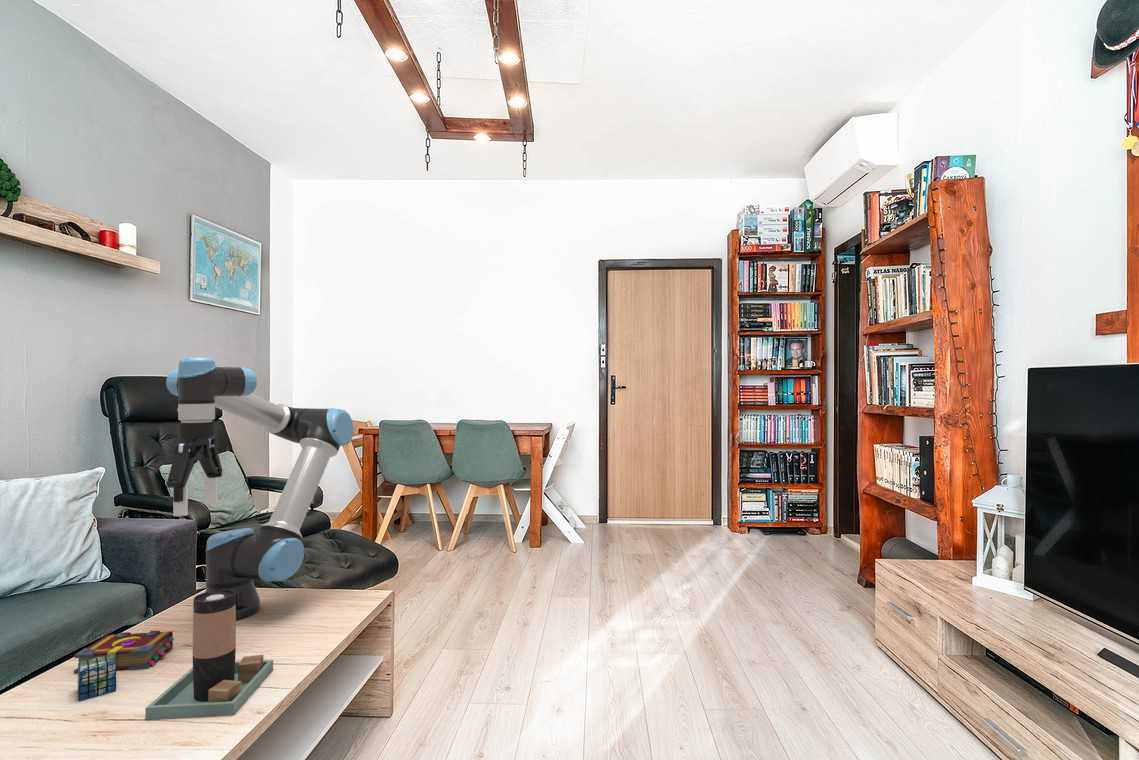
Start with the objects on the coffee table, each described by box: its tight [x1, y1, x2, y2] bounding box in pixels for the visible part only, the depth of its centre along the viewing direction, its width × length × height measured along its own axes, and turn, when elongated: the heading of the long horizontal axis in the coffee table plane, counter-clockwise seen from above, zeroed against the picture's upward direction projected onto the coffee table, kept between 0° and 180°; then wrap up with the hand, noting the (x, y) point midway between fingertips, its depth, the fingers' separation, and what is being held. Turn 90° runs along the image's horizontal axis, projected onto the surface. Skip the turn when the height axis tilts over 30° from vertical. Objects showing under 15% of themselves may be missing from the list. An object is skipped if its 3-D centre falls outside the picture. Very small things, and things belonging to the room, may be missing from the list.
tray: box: [144, 659, 274, 721], centre depth 119 cm, size 18×16×3 cm
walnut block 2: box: [238, 654, 265, 683], centre depth 125 cm, size 4×4×4 cm
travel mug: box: [192, 589, 237, 701], centre depth 119 cm, size 8×8×20 cm
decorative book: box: [73, 630, 175, 675], centre depth 135 cm, size 11×16×5 cm
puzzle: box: [77, 654, 117, 702], centre depth 121 cm, size 6×6×6 cm
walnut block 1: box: [208, 680, 242, 703], centre depth 114 cm, size 4×4×4 cm
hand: (196, 509), depth 139 cm, fingers open, 13 cm apart
